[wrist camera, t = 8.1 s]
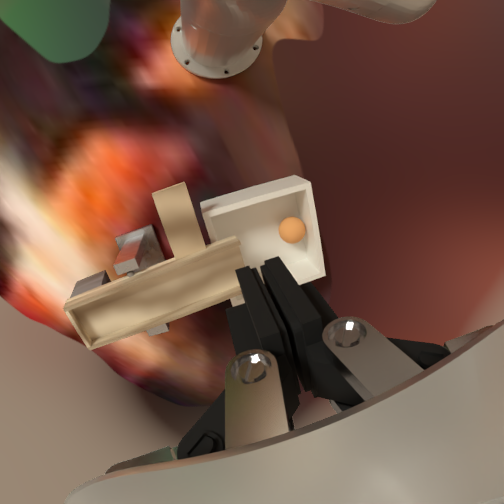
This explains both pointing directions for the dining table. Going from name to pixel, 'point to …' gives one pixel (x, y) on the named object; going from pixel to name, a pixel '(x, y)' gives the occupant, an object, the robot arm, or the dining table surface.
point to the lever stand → (140, 257)
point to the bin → (269, 226)
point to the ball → (291, 230)
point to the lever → (158, 280)
